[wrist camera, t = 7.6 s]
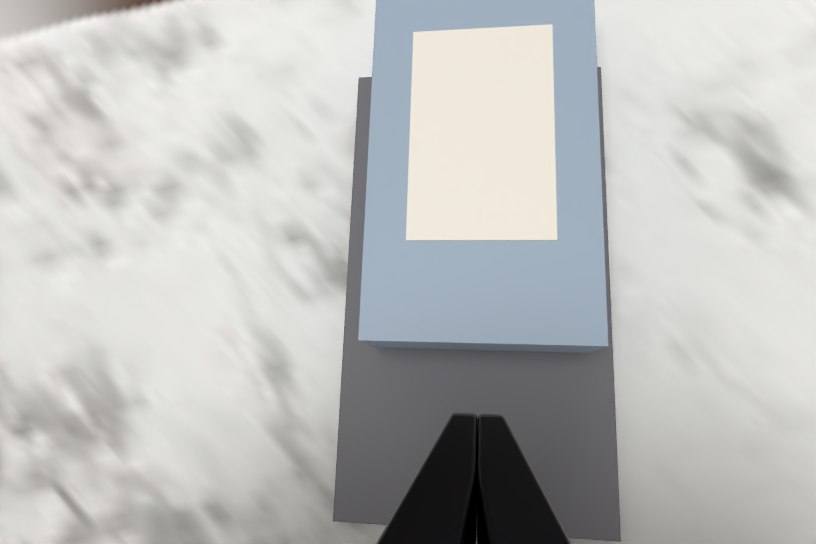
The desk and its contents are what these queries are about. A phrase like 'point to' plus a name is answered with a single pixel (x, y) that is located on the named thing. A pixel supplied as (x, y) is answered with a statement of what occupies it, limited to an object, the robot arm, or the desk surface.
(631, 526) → the desk surface
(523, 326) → the card box
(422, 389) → the mat
